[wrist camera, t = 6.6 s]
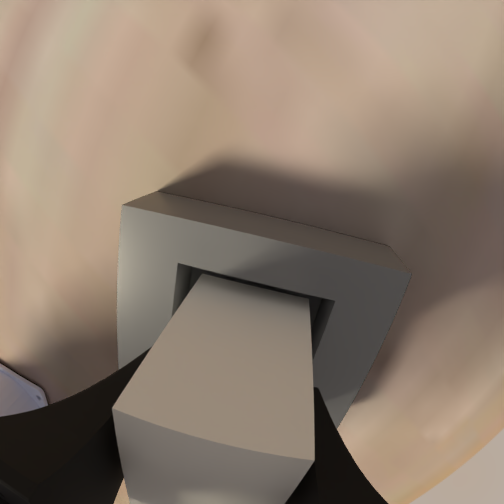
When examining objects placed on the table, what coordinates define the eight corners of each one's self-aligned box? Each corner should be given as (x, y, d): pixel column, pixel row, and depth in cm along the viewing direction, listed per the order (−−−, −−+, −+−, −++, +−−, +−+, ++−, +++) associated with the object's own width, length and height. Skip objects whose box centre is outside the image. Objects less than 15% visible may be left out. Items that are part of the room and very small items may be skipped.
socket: (389, 246, 13) (414, 277, 10) (318, 414, 16) (319, 460, 13) (156, 191, 13) (117, 206, 10) (143, 371, 17) (118, 410, 13)
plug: (307, 285, 13) (315, 460, 5) (275, 385, 15) (255, 540, 7) (210, 262, 13) (111, 408, 5) (194, 365, 15) (131, 508, 7)
